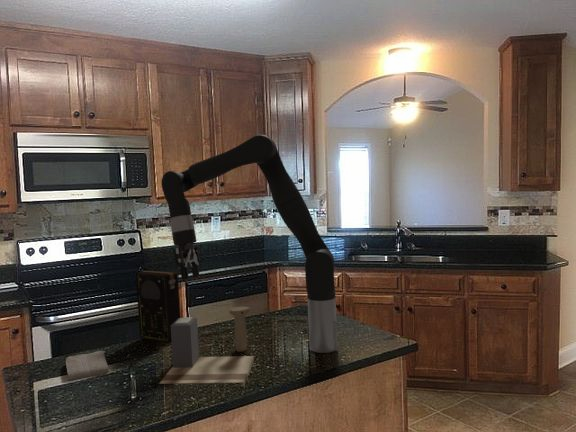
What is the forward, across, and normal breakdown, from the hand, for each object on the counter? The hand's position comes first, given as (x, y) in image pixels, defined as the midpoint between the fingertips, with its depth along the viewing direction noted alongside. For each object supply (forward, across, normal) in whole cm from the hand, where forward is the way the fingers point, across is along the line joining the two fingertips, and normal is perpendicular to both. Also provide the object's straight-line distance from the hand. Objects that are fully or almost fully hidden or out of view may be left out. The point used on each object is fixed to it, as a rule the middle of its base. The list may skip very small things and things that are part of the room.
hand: (191, 278), depth 162 cm
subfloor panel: (+29, -12, -7) cm, 32 cm away
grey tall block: (+25, -8, +2) cm, 27 cm away
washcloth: (+22, -13, +34) cm, 43 cm away
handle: (+28, +4, -11) cm, 30 cm away
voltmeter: (+20, +16, +23) cm, 35 cm away
